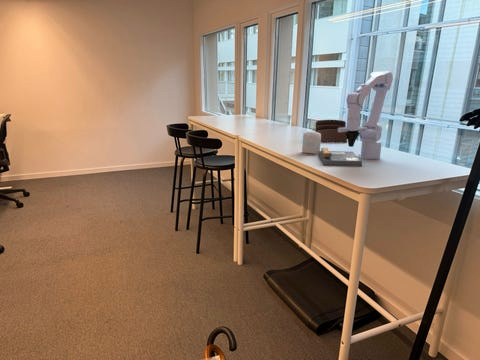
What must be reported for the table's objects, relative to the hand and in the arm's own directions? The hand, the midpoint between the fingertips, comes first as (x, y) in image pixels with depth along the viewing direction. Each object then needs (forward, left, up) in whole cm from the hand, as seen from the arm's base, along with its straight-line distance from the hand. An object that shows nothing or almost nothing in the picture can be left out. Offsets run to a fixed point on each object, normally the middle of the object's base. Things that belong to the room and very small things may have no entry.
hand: (350, 146), depth 165 cm
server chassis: (+4, -5, -9) cm, 11 cm away
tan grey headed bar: (+11, -6, -6) cm, 14 cm away
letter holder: (0, -62, -9) cm, 62 cm away
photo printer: (+17, -22, -9) cm, 29 cm away
